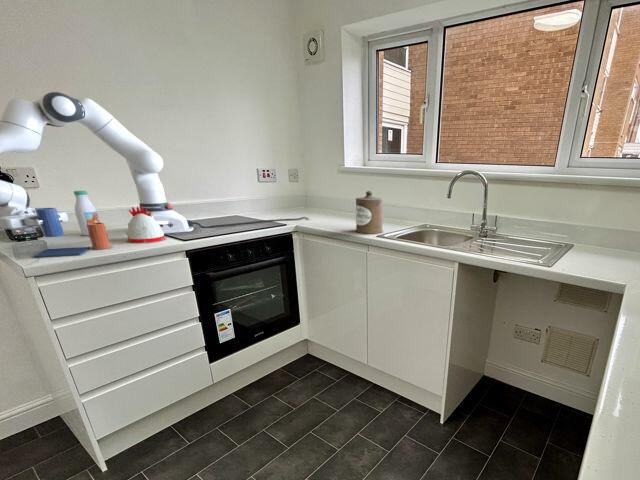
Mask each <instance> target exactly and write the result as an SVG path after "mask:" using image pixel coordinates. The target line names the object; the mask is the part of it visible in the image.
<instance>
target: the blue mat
mask: <svg viewBox="0 0 640 480" xmlns="http://www.w3.org/2000/svg"><path fill="white" fill-rule="evenodd" d="M90 249H91V247H90V246H81V247H80V246H79V247H61V248H47V249H45V250H44V251H41V252H40V253H37V254H36V255H34V258H35V259H37V258H39V259H40V258H54V257H56V258H57V257H70V256H72V257H73V256H74V257H75V256H81V255H82V254H84V253H85V252H87V251H88V250H90Z"/></svg>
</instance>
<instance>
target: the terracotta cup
mask: <svg viewBox="0 0 640 480" xmlns="http://www.w3.org/2000/svg"><path fill="white" fill-rule="evenodd" d="M99 222H100V221H99ZM99 222H98V223H88V224H86V226H87V230H88V233H89V235H88V236H89V240H90V243H91V247H92V249H93V250H108V249H110V248H111V243H110V240H109V236H108V233H107V229H106V228H107V227H106V225H105V222H100V223H99Z"/></svg>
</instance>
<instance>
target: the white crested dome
mask: <svg viewBox="0 0 640 480" xmlns="http://www.w3.org/2000/svg"><path fill="white" fill-rule="evenodd" d="M128 212H129V213H130V215H132V216H133V217H131V219H130V220H129V222H128V223H127V232H126V237H127V241H128V243H132V244H147V243H154V242H155V243H156V242H161V241H164V240H165V239H166V237H165V234H164V233H163V231H162V229H161V228H160V226H159V224H158V223H157V222H156V221H155V220H154V219H153V218H152V217H150V215H151V211H150V213H149V214H147V209H145V211H144V210H143V208H142V206H141V211H140V207H139V206H136V208H135V207H134V206H131V209H128Z"/></svg>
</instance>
